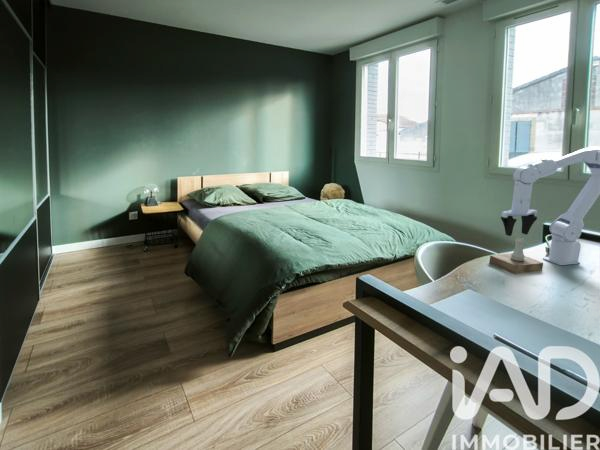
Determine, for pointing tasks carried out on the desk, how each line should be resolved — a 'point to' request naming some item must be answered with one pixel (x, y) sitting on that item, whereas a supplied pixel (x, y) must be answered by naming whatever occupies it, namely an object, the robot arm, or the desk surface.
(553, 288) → the desk surface
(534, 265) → the walnut block
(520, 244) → the rook chess piece
